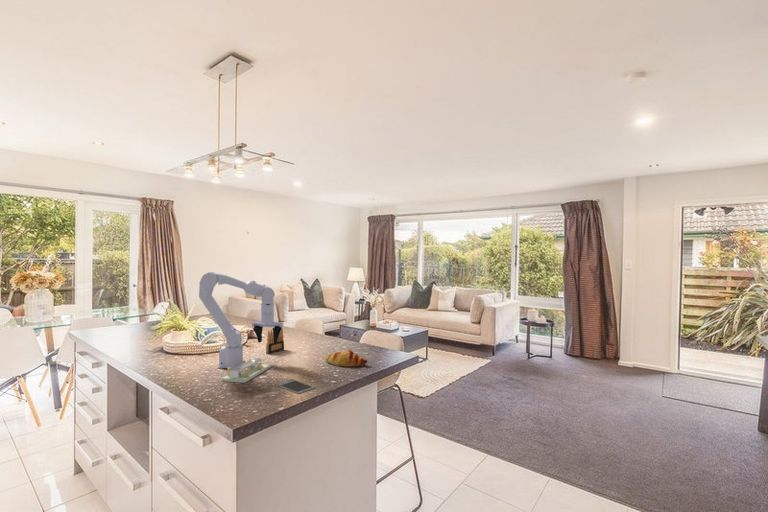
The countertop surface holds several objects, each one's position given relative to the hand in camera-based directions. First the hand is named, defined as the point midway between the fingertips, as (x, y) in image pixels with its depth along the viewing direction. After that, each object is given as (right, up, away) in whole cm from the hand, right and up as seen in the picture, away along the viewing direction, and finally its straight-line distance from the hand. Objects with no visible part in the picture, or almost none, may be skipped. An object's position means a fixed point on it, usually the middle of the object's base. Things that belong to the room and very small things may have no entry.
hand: (267, 342), depth 168 cm
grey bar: (-3, -8, -17) cm, 19 cm away
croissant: (+37, -10, -2) cm, 38 cm away
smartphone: (+20, -10, -31) cm, 39 cm away
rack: (-3, -9, -16) cm, 19 cm away
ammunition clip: (-2, -10, +20) cm, 22 cm away
